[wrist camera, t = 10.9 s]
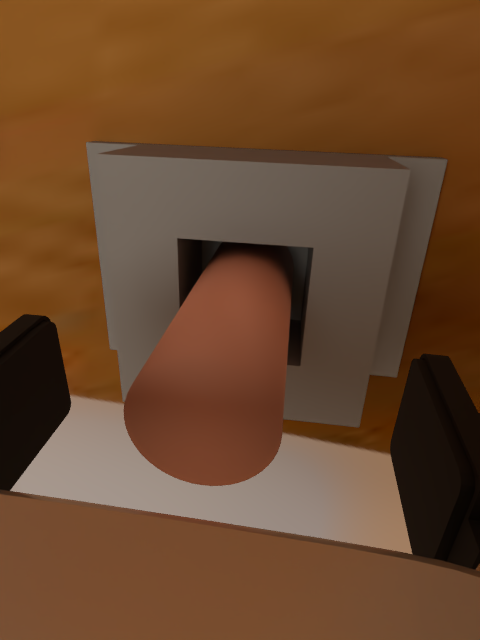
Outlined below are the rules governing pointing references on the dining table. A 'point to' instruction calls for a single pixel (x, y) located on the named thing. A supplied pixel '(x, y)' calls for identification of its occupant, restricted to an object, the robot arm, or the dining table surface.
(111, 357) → the dining table surface
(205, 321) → the peg
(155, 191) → the socket
